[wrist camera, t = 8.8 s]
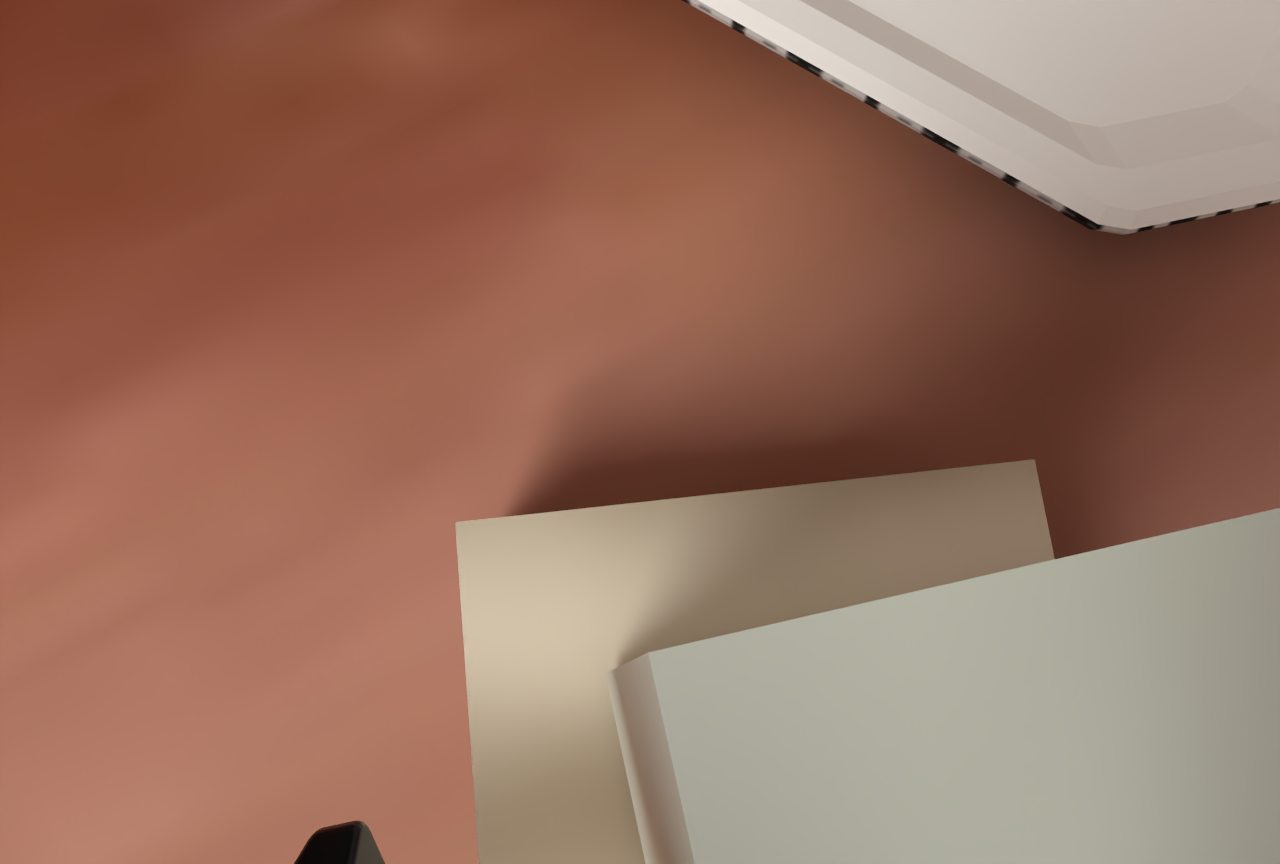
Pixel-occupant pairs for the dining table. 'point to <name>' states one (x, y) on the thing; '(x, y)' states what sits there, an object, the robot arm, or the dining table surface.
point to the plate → (1062, 92)
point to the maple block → (682, 618)
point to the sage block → (981, 719)
